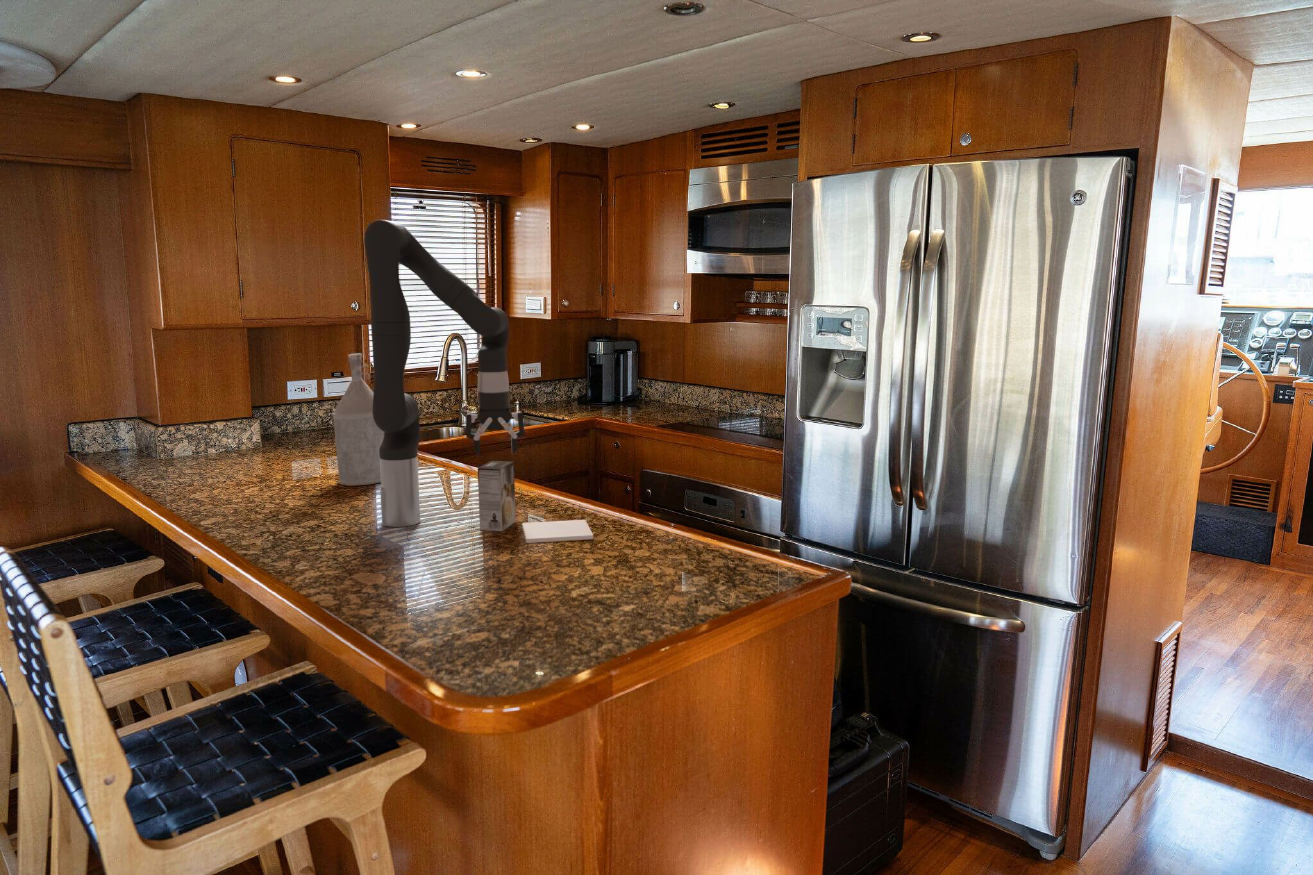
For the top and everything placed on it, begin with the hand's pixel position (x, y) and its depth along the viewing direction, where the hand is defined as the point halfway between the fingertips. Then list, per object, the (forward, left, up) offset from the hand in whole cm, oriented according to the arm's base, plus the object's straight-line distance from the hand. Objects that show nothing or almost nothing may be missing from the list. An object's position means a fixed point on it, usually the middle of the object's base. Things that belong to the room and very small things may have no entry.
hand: (496, 453), depth 214 cm
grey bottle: (-38, +59, -19) cm, 73 cm away
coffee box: (0, 0, -19) cm, 19 cm away
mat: (+14, -9, -19) cm, 25 cm away
